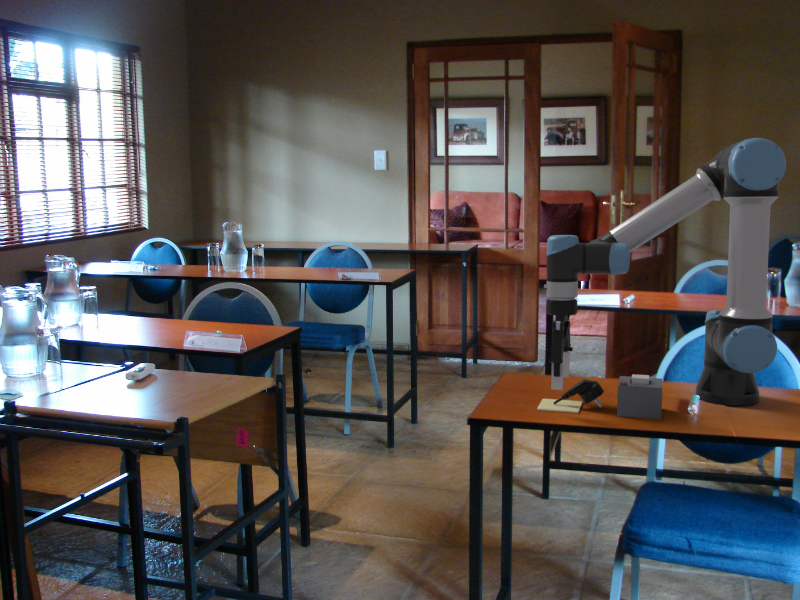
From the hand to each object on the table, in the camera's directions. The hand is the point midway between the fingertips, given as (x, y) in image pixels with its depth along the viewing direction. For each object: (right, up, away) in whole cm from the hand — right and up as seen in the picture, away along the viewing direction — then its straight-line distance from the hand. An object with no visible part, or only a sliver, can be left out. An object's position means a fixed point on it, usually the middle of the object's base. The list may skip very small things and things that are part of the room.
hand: (560, 382), depth 194 cm
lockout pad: (0, -6, +1) cm, 6 cm away
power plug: (0, -8, +1) cm, 8 cm away
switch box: (+18, -7, -5) cm, 20 cm away
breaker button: (+18, -2, -6) cm, 19 cm away
